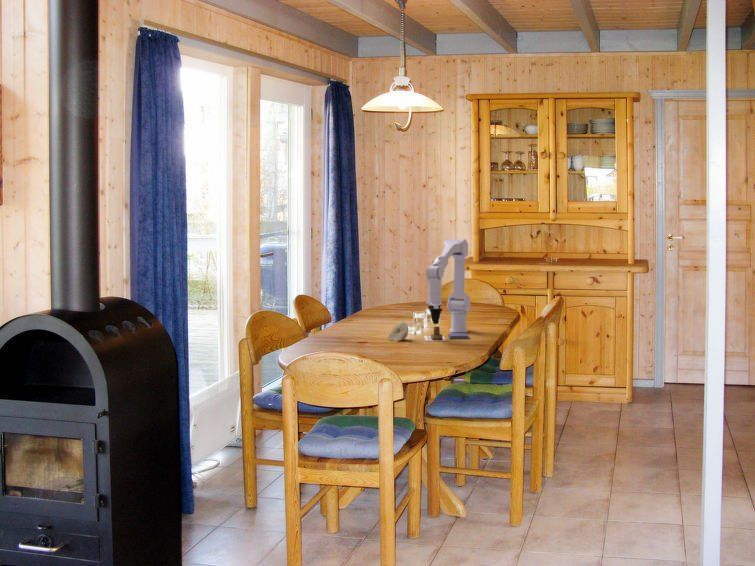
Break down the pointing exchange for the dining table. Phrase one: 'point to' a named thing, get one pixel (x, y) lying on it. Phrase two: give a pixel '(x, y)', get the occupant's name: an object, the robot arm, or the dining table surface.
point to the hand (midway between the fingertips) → (435, 322)
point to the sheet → (428, 338)
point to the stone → (399, 332)
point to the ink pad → (458, 336)
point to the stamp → (436, 334)
